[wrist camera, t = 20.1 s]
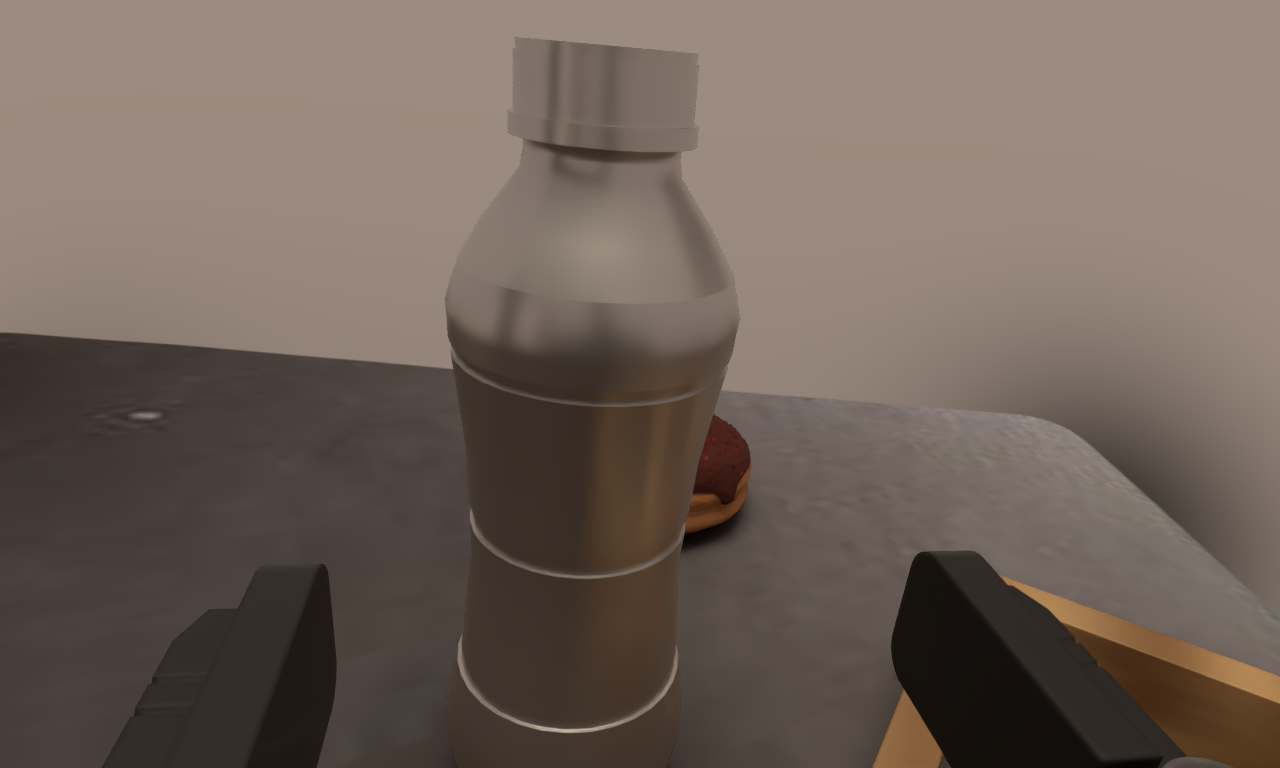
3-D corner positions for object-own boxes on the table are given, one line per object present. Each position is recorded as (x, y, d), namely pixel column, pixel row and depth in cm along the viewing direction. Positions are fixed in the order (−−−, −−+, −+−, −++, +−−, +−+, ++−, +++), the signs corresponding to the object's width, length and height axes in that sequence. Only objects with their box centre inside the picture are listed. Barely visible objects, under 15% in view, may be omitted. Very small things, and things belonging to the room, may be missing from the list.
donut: (598, 429, 44) (603, 365, 42) (767, 474, 41) (778, 406, 39) (505, 515, 35) (506, 438, 34) (710, 580, 32) (722, 498, 31)
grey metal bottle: (488, 671, 27) (492, 35, 19) (683, 705, 26) (773, 61, 18) (410, 845, 21) (368, 23, 13) (660, 895, 20) (780, 60, 12)
